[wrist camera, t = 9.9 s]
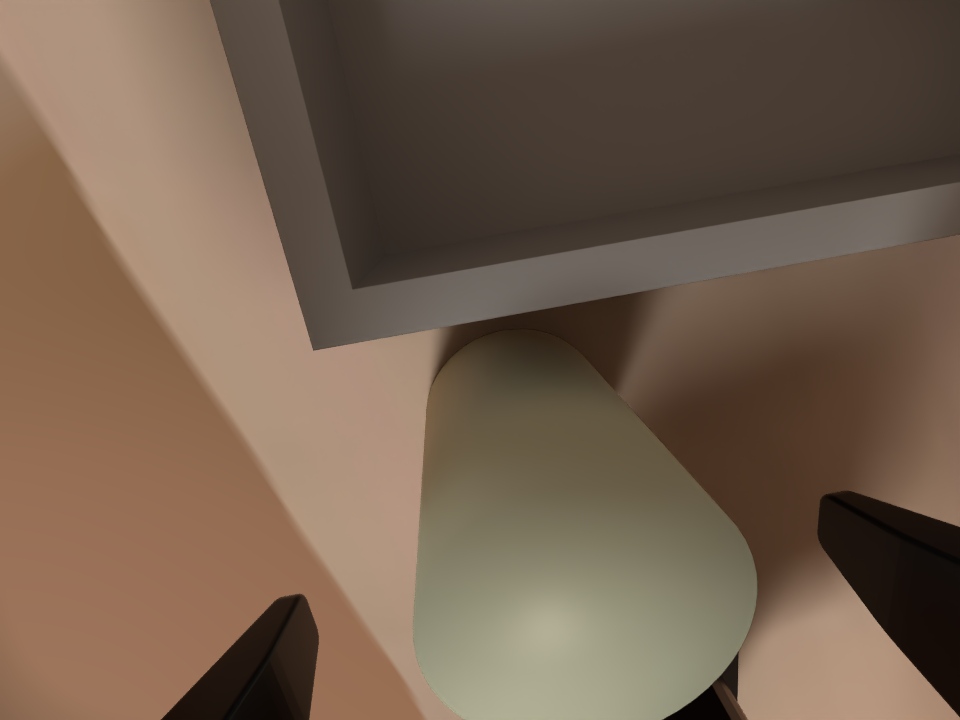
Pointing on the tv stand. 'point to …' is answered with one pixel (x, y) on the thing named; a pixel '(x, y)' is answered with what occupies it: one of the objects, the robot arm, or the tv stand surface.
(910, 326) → the tv stand surface
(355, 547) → the tv stand surface
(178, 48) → the tv stand surface
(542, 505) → the sage capsule
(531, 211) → the tote
